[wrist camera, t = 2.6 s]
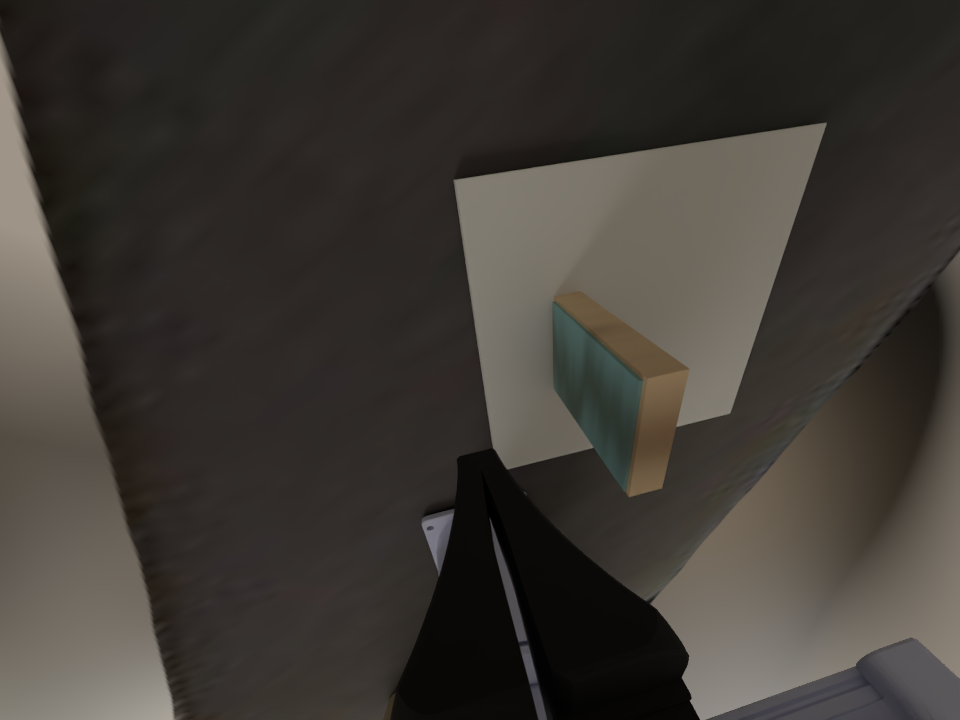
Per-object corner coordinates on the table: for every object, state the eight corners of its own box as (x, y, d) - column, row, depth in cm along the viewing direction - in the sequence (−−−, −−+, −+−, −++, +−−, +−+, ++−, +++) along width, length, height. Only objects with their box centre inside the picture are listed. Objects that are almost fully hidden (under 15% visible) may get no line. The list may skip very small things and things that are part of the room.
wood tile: (577, 383, 21) (662, 488, 14) (552, 389, 21) (625, 497, 14) (580, 291, 18) (689, 369, 11) (550, 297, 18) (643, 379, 11)
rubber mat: (724, 409, 26) (730, 413, 26) (495, 466, 24) (497, 471, 24) (815, 123, 17) (826, 122, 16) (453, 179, 15) (455, 180, 14)
